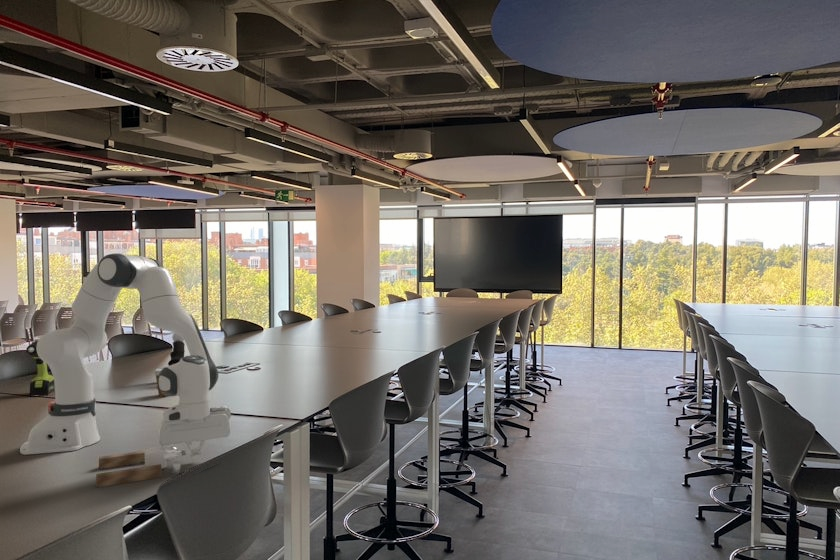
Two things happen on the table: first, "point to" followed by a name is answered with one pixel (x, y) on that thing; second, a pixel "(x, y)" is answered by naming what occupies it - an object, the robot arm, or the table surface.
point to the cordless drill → (40, 374)
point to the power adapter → (160, 456)
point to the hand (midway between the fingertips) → (195, 455)
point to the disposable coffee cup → (157, 380)
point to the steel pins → (175, 464)
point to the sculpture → (177, 349)
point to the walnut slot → (127, 474)
